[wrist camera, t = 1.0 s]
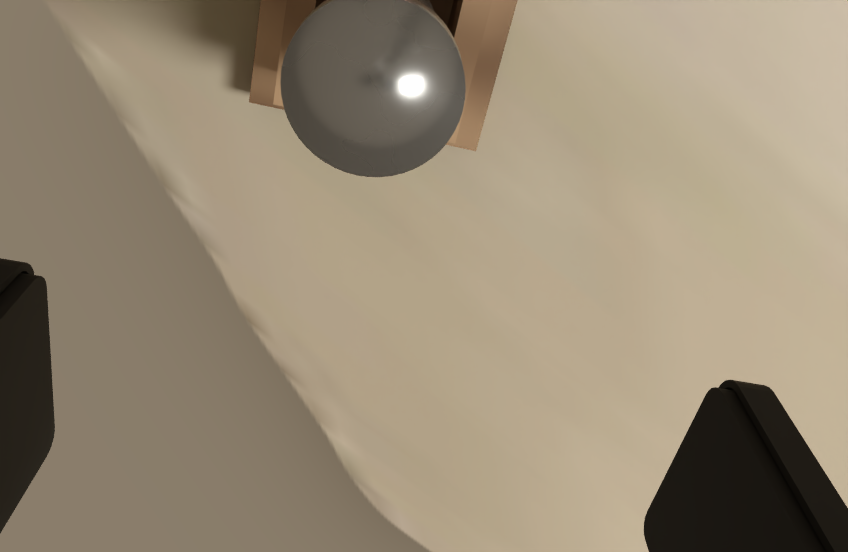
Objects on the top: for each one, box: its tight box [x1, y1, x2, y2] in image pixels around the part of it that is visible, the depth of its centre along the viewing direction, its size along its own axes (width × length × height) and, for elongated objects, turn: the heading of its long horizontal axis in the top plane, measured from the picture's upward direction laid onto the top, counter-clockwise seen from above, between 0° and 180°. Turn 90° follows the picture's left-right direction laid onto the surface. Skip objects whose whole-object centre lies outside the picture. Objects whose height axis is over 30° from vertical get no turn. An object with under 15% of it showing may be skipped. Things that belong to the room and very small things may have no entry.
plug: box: [280, 0, 466, 177], centre depth 24 cm, size 5×5×8 cm
